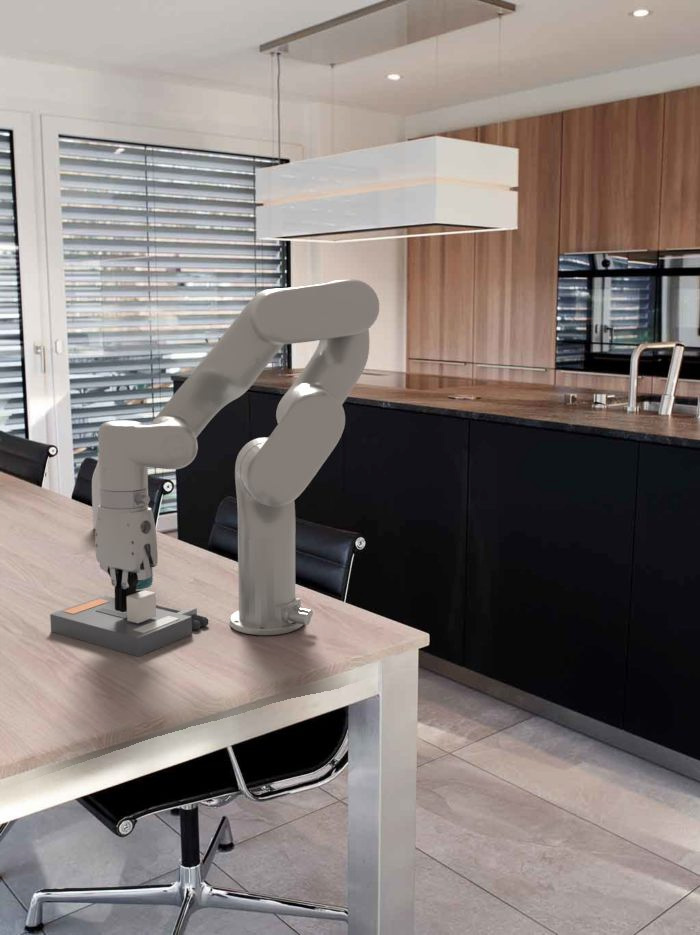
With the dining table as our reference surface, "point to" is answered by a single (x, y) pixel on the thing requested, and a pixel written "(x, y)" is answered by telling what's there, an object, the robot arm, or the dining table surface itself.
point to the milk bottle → (95, 491)
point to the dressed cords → (192, 612)
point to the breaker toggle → (141, 606)
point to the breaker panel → (120, 627)
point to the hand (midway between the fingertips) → (125, 609)
